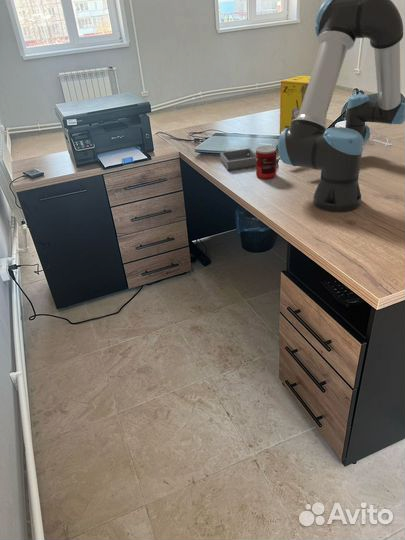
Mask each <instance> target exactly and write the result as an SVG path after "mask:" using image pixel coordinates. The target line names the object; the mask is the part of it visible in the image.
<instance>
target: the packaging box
mask: <svg viewBox="0 0 405 540" xmlns="http://www.w3.org/2000/svg"><path fill="white" fill-rule="evenodd" d="M310 77H311V75H297V76H295V77H291V78H287V79H283V80H281V81H280V100H279V101H280V103H279V104H280V107H279V135H280V134H281V132H282V131H283V130H284V129H285V128H290V126H291V122H292V120H294V119H295V118H297V117H298V115H299V112H300V109H301V106H302V103H303V99H304V96H305V93H306V90H307V87H308V84H309V80H310ZM327 115H328V113H327V114H326V117H325V120H324V125H325V127H326V124H327ZM326 128H327V127H326Z"/></svg>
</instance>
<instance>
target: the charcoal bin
mask: <svg viewBox="0 0 405 540" xmlns="http://www.w3.org/2000/svg"><path fill="white" fill-rule="evenodd" d="M248 153H249V156H247V154H248ZM219 156H220V157H219V158H220V162H221V164H222V165H223V167H224V168H225V170H226V171H227V172H233V171H239V170H245V169H247V170H248V169H253V168H254V169H255V168H256V152H255V151H254V150H253V149H251V147H250V148H241V149H236V150H235V149H233V150H228V151H221V152H220V153H219Z"/></svg>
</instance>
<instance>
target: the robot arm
mask: <svg viewBox="0 0 405 540" xmlns="http://www.w3.org/2000/svg"><path fill="white" fill-rule="evenodd" d="M315 23H316V25H314V26H315V29H314V30H315V35H316V37H317V41H318V43H319V45H320V46H319V49H318V52H317V55H316V59H315V62H314V65H313V68H312V71H311V75H310V76H311V77H310V80H309V84H308V87H307V90H306V93H305V96H304V99H303V103H302V106H301V109H300V112H299V115H298V117H297V118H295V119H294V120H292V122H291V126H290V128H285V129H284V130H283V131H282V132H281V134H280V133H279V137H278V142H277V145H278V147H277V149H278V156H279V158H280V160H281V161H282V163H284V164H286V165H290V166H293V167H301V168H307V169H312V170H319V171H320V180H319V182H318V184H317V187H316V188H315V192H314V194H313V201H312V202H313V204H314V205H315V206H316V207H317V208H319V209H321V210H324V211H328V212H336V213H337V212H339V213H340V212H349V211H352V210H355V209H357V208H359V207H360V206H361V202H362V194H361V188H360V184H359V176H360V175H359V174H360V168H361V161H362V156H363V151H364V147H363V146H364V144H365V143H367V142H368V140H369V139H370V138H371V131H370V127H369V125H367V124H366V122H367V123H377V124H378V123H379V124H386V125H403V123H404V122H405V103H404V102H401V95H402V94H401V93H402V92H401V91H402V90H401V41H402V40H403V38H404V24H403V19H402V16H401V14H400V12H399V9H398V8H397V6H396V4H395V3H394V2H393V1H392V0H325V1H323V3H322V4H321V5H320V8H319V9H318V12H317V15H316V18H315ZM356 39H369V43H370V47H372V48H373V51H374V53H373V54H374V62H375V63H374V64H375V65H374V66H375V78H376V90H377V101H372V100H370V98H369V95H368V94H363V93H361V94H359V93H358V94H352V95H351V96H349V98H348V101H347V106H346V118H345V127H344V126H343V127H342V126H340V127H337V126H334V127H333V126H332V127H329V128H327V127H325V125H324V120H325V117H326V118H327V116H326V114H327V115H328V111H329V107H330V104H331V101H332V97H333V95H334V91H335V89H336V85H337V82H338V79H339V76H340V74H341V71H342V70H341V69H342V67H343V64H344V60H345V57H346V54H347V52H348V51H350V50H351V49H353V47H354V46H355V42H356Z"/></svg>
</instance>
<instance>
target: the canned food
mask: <svg viewBox="0 0 405 540" xmlns="http://www.w3.org/2000/svg"><path fill="white" fill-rule="evenodd" d="M255 154H256V167H255V175H256V178H258V179H259V180H260V179H261V180H272V179H274V178H275V177H276V176H277V147H276V146H272V145H261V146H258V147H256V149H255Z"/></svg>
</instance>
